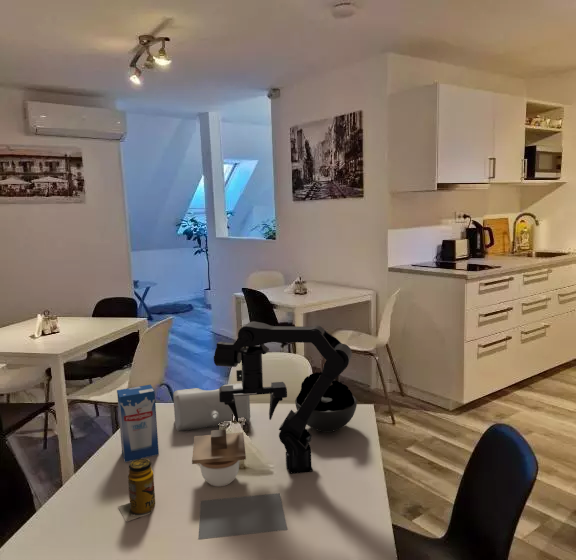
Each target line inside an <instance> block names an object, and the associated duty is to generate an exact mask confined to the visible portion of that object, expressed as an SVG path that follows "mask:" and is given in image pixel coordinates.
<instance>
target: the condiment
mask: <svg viewBox="0 0 576 560" xmlns="http://www.w3.org/2000/svg"><path fill="white" fill-rule="evenodd" d="M152 468H153V467H152V462H151V460H150V459H148V458H141V459H136V460H133V461H130V463H129V465H128V475H127V482H128V485H127V486H128V494H129V495H128V497H129V502H128V503H125V504H121V505H118V506H117V507H118V509H119V511H120V514H121V515H122V517H123V519H124V520H125V522H126V523H128V522H130V521H134V520H135V519H139V518H141V517H145V516H147V515H148V516H149V515H150V514H152V511H153V509H154V507H155V505H156V493H155V491H156V490H155V481H154V479H155V478H154V477H155V475H154V471H153V469H152Z"/></svg>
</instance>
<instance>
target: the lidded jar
mask: <svg viewBox="0 0 576 560" xmlns="http://www.w3.org/2000/svg"><path fill="white" fill-rule="evenodd" d="M199 466H200V467H199V468H200V473H201V475H202V478H203V479H204V481H206V483H207V484H209V485H211V486H212V487H224V486H228V485H229V484H230V483H232V482H233V481H234V480H235V479H236V477H237V476H238V473H239V470H240V460H234V461H222V462H211V463H199Z"/></svg>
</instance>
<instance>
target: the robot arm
mask: <svg viewBox="0 0 576 560" xmlns="http://www.w3.org/2000/svg"><path fill="white" fill-rule="evenodd" d="M268 343H269V344H270V343H306V344H307V343H309V344H312V345H313V346H314V347H315V348H316V350H317V352H319V354H320V355H321V357H323V358H324V359H325V362H324V365H323V368H322V369H321V372H322V373H321V375H320V376H319V378H318V380H317V381H316V383H315V384H314V386H313V388H312V389H311V391H310V392H309V394H308V396H307V397H306V399H305V400H304V402H303V403H302V405H301V407H300V408H299V409H298V410H297V409H296V410H295V412H294V410H293V409H290V410H289V411H288V412H289V413H288V414H287V416H286V417H285V419H284V420H283V421H282V423H281V424H280V426H279V428H278V430H279V433H278V438H279V441H280V442H281V444H283V447H284V449H285V466H286V469H287V470H288V472H289V473H288V474H290V475H293V474H295V475H296V474H304V473H306V474H307V473H312V472H314V470H313V467H312V447H311V445H310V443H311V441H312V438H313V434H312V433H311V432H310V431H308V429H307V428H306V427H307V426H308V425H307V422H308V420H309V417H310V416H311V414H312V412H313V411H314V409H315V408H316V406H317V405H318V403H319V401H320V400H321V398H322V397H323V395H324V394H325V392H326V391H327V389H328V387H329V386H331V385H332V381H335V380H336V379H337V378H338V377H339V376H340V375H341V374H342V373H343V372H344V371H345V370H346V369H347V367H348V366H349V363H350V362H351V359H352V357H353V352H352V349H351V348H350V346H348V345H347V344H345V343H342V342H341V341H340V340H339V339H338V338H337V337H335V336H334V335H332V334H331V333H329V332H328V331H326V330H325V329H324V327H322V326H320V325H314V326H299V325H298V326H283V325H282V326H281V325H279V326H278V325H277V326H276V325H275V326H274V325H270V324H267V323H264V322H259V321H249V322H247V323H246V324H245V325H244V326H242V327H241V328H240V329H239V330H238V333H237V338H236V340H235V342H226V341H219V342H216V348H215V351H214V355H213V362H214V365H215V367H216V366H217V367H229V368H236V367H237V366H239V364H241V369H238V370H236V371H235V372H236V375H235V376H236V382H241V383H242V387H243V389H233V385H229V386H223V385H221V386H220V387H219V388H218V389H219V398H220V402H224V403H225V405H229V407H230V408H231V410H232V412H233V414H234V416H235V419H236V421H237V422H238V412H237V407H236V401H235V396H246V395H249V396H257V395H269V396H270V397H269V398H270V399H269V410H268V417H269V418H268V419H269V421H271V420H272V419H273V415H274V414H275V413H274V412H275V410H276V408H277V406H278V405H279V402H281V401H283V399H286V398H287V397H288V390H287V389H288V387H287V386H286V383H285V382H284V381H274V382H271V383H270V386H264V381H263V380H264V379H263V377H264V376H263V355H266V354H267V353H268V352H269V351H270V348H269V347H267V345H265V344H268Z"/></svg>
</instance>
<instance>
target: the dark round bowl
mask: <svg viewBox="0 0 576 560" xmlns="http://www.w3.org/2000/svg"><path fill="white" fill-rule="evenodd" d="M321 373H322V371H320V372H318V371H317V372H314V373H310V375H309V376H305V378H304V379H303V381H302V383H301V386H300V388H301V389H300V390H299V393H298V395H297V396H296V398H295V401H294V403H295V408H296V411H297V410H298V409H299V408H300V407H301V405H302V403H303V402H304V400H305V399H306V397H307V396H308V394H309V392H310V391H311V389H312V388H313V386H314V384H315V383H316V381H317V380H318V378H319V376H320V375H321ZM357 404H358V400H357V397H355V396H354V394H353V392H352V391H351V390H350V389H349V387H348V386H347V385H346V384H344V383H342V382H341V381H338V380H336V379H335V380H333V381H332V383H331V384H330V386H329V387H328V389H327V391H326V392H325V394H324V395H323V397H322V398H321V400H320V401H319V403H318V405H317V406H316V408H315V409H314V411H313V412H312V414H311V416H310V417H309V420H308V422H307V425H306V426H308V427H310V428H311V429H313V430H316V431H317V432H324V433H327V432H329V433H331V432H334V431H337V430H340V429H343V428H344V427H346V425H348V423H350V421H351V420H352V418H353V416H354V415H355V413H356V410H357V406H358V405H357Z"/></svg>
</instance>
